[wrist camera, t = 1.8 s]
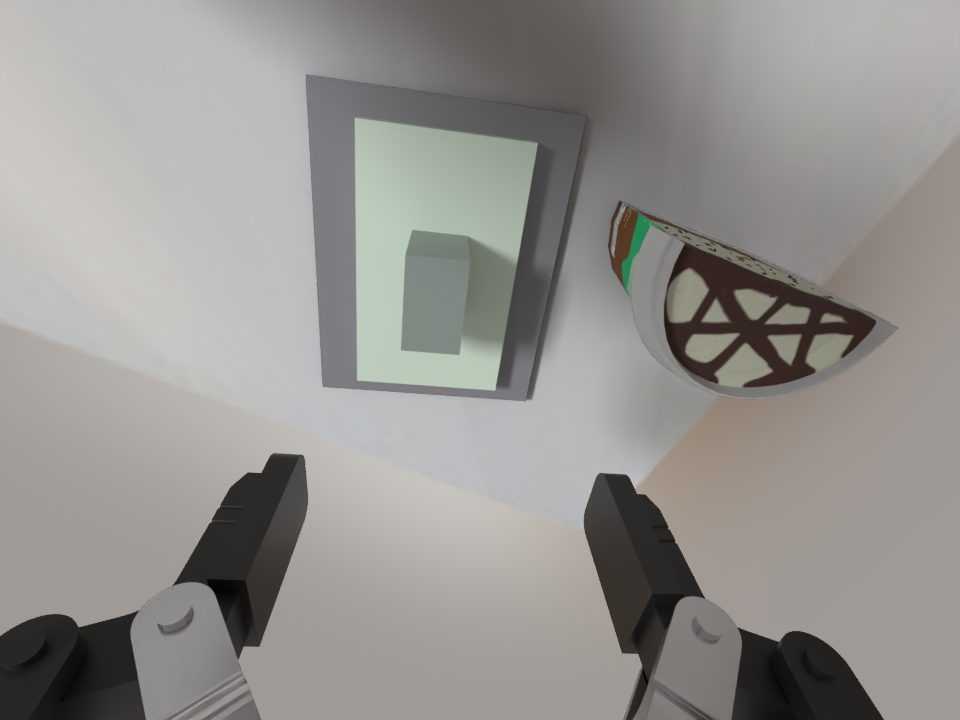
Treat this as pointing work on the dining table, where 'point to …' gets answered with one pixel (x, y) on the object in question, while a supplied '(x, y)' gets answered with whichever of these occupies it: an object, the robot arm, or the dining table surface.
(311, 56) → the dining table surface
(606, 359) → the dining table surface
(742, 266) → the food container
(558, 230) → the mat
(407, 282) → the lid
